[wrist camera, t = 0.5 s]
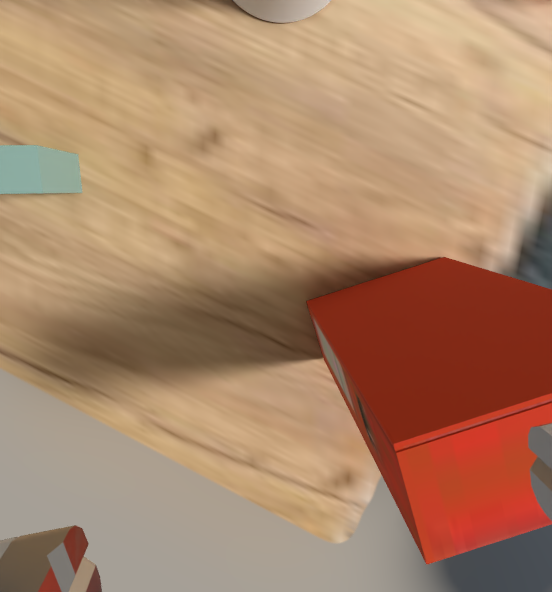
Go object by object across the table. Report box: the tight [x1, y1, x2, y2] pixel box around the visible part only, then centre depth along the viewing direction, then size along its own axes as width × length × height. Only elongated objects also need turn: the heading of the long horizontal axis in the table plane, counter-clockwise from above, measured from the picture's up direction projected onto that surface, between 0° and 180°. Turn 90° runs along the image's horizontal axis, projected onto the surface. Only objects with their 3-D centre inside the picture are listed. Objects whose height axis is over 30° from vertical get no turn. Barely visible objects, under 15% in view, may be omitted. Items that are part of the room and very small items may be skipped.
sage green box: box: [0, 145, 82, 194], centre depth 43 cm, size 4×6×10 cm, turn 91°
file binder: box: [306, 257, 552, 564], centre depth 39 cm, size 8×17×32 cm, turn 107°
